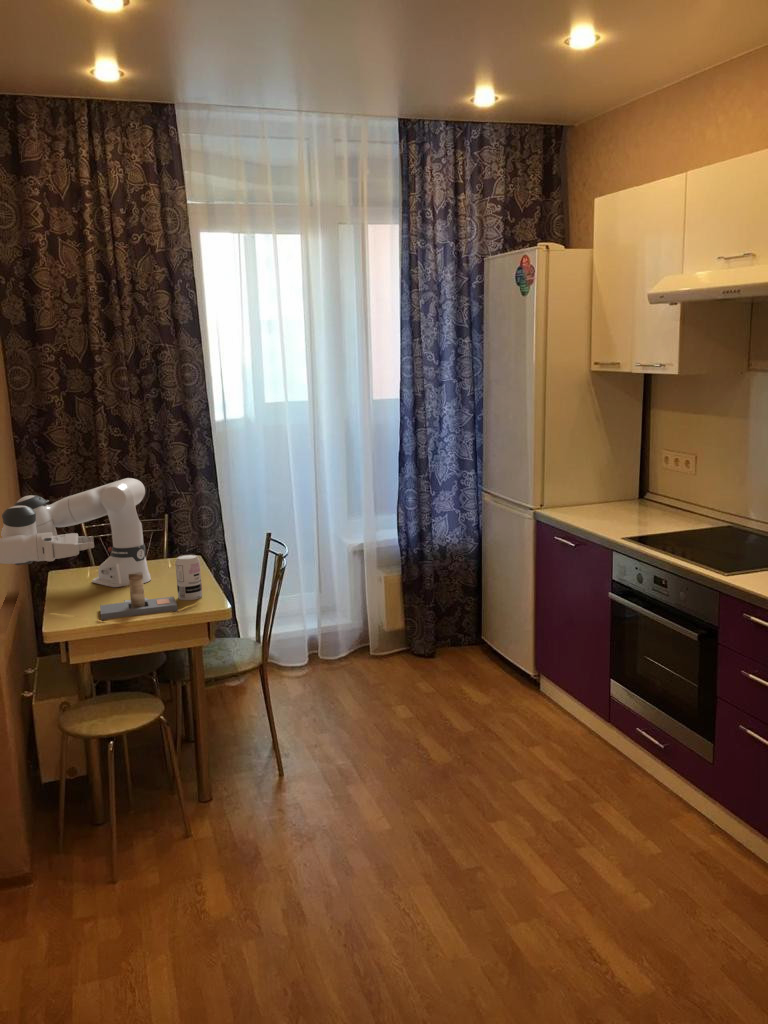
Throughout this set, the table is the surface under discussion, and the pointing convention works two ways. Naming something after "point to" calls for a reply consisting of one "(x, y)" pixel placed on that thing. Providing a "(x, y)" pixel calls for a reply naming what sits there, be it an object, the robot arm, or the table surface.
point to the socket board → (150, 607)
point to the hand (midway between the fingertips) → (93, 541)
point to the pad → (130, 600)
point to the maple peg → (136, 589)
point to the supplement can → (188, 577)
